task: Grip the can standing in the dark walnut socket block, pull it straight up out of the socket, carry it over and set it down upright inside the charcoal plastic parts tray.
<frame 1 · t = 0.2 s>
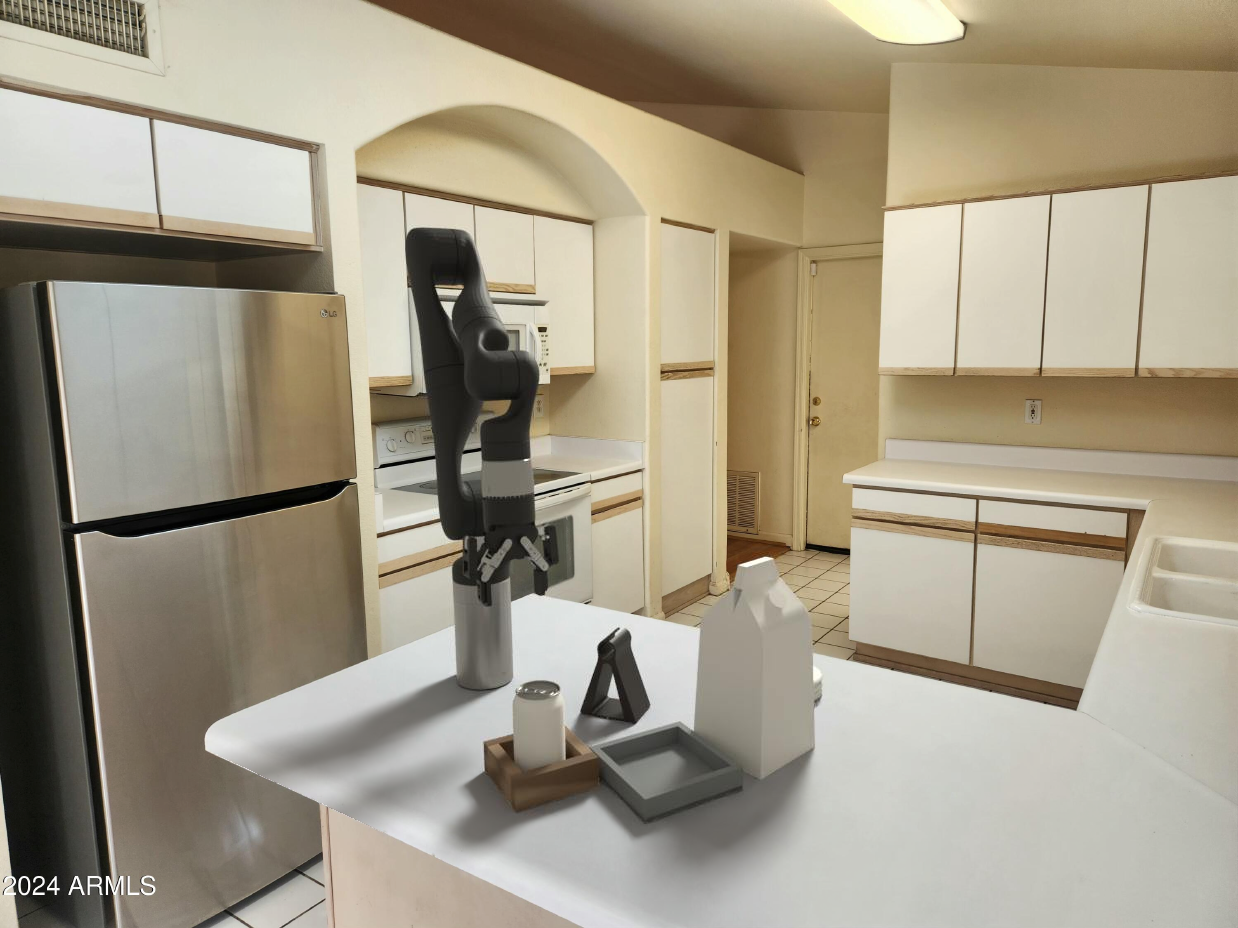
hand: (513, 599, 118), 18 cm above the countertop, tool pointing down, fingers open, 8 cm apart
milk: (753, 748, 110), on the countertop
parts tray: (664, 778, 102), on the countertop
can: (540, 779, 102), resting in socket block
socket block: (540, 778, 102), on the countertop
coaster: (789, 693, 127), on the countertop
phone stand: (615, 711, 121), on the countertop
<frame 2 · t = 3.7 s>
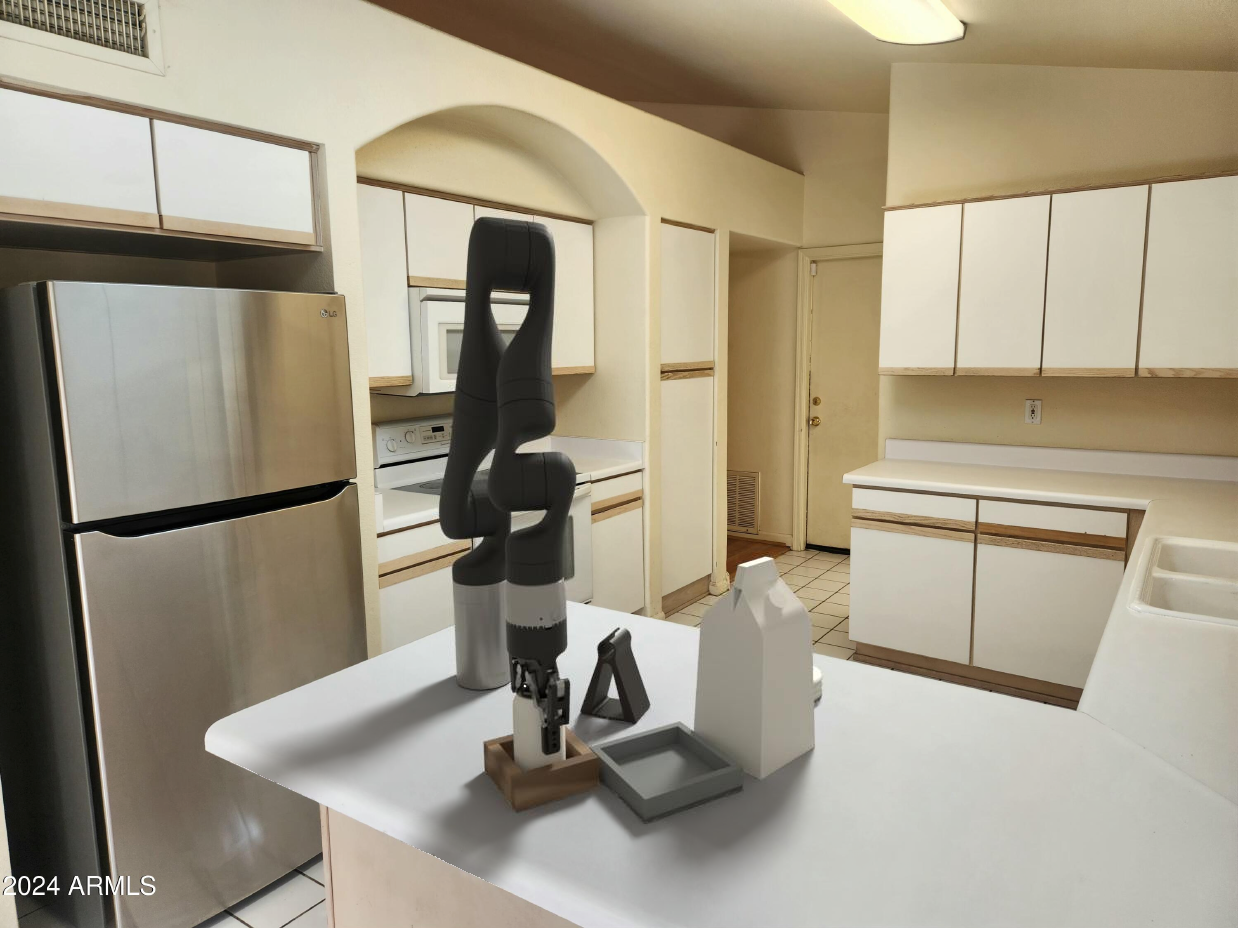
hand: (539, 740, 101), 5 cm above the countertop, tool pointing down, fingers closed on can, 6 cm apart
can: (540, 779, 102), resting in socket block, touching gripper
everything else where it was.
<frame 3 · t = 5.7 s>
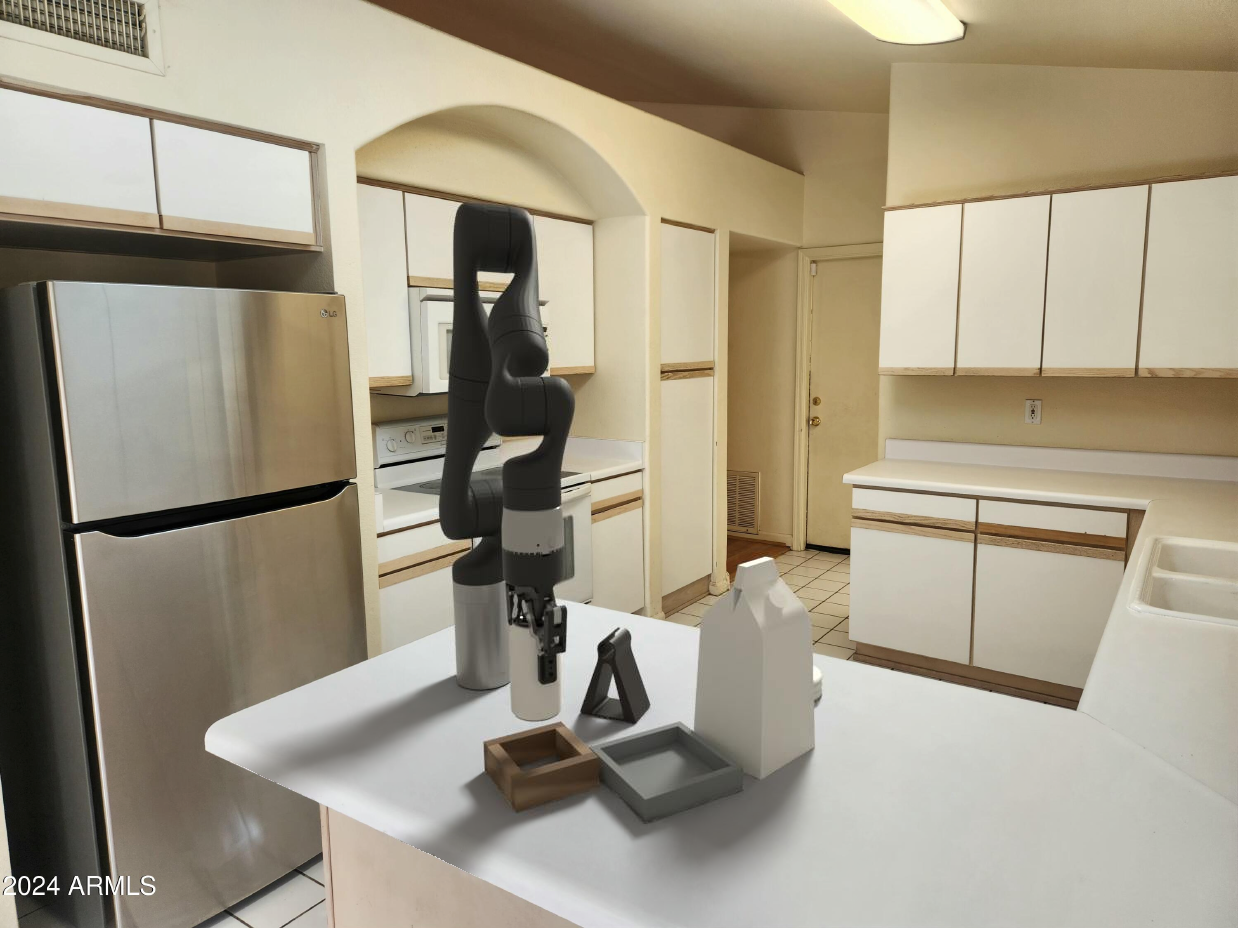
hand: (536, 671, 100), 14 cm above the countertop, tool pointing down, fingers closed on can, 6 cm apart
can: (537, 712, 101), point 9 cm above the countertop, touching gripper
everything else where it was.
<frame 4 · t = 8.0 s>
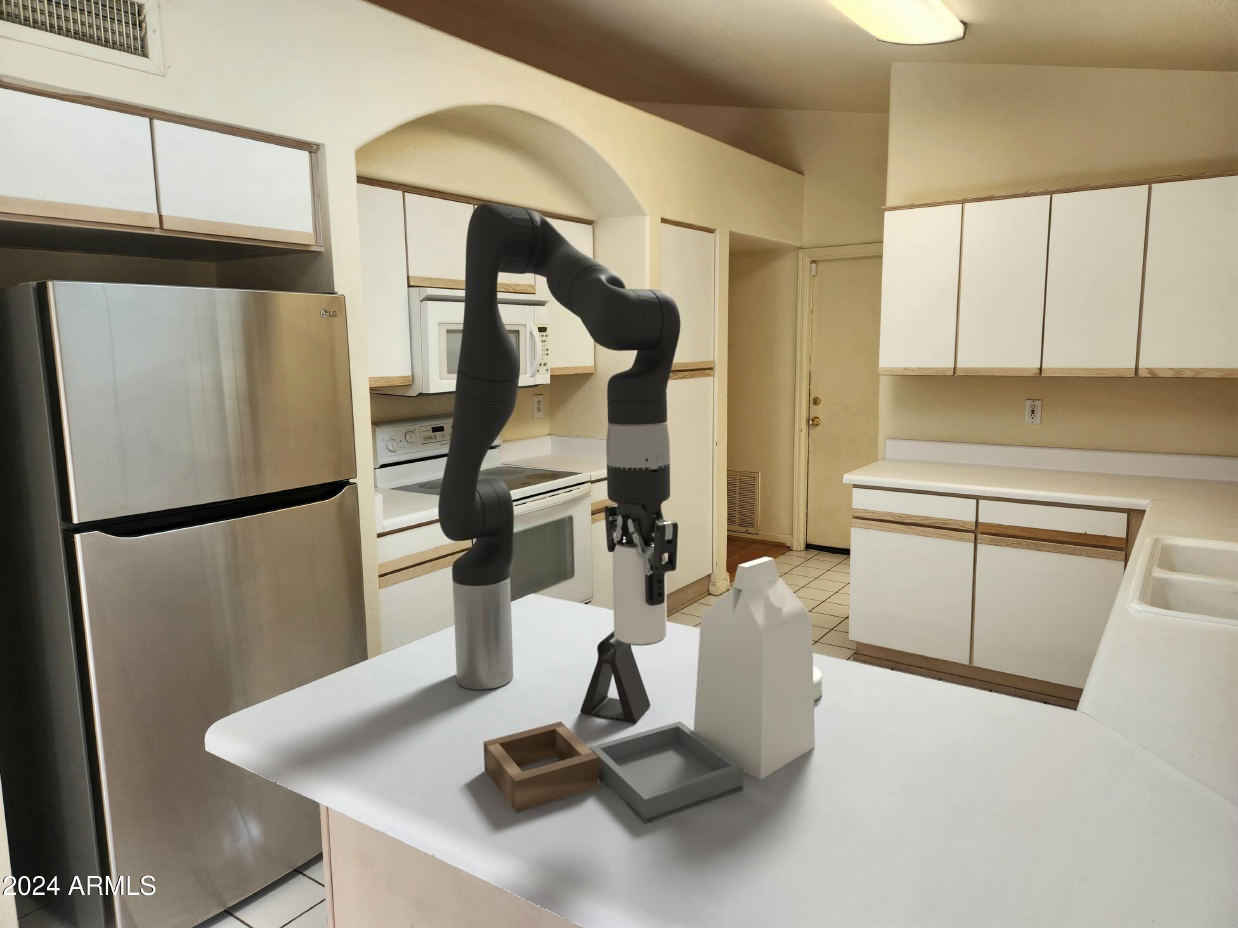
hand: (640, 596, 98), 24 cm above the countertop, tool pointing down, fingers closed on can, 6 cm apart
can: (640, 638, 99), point 19 cm above the countertop, touching gripper
everything else where it was.
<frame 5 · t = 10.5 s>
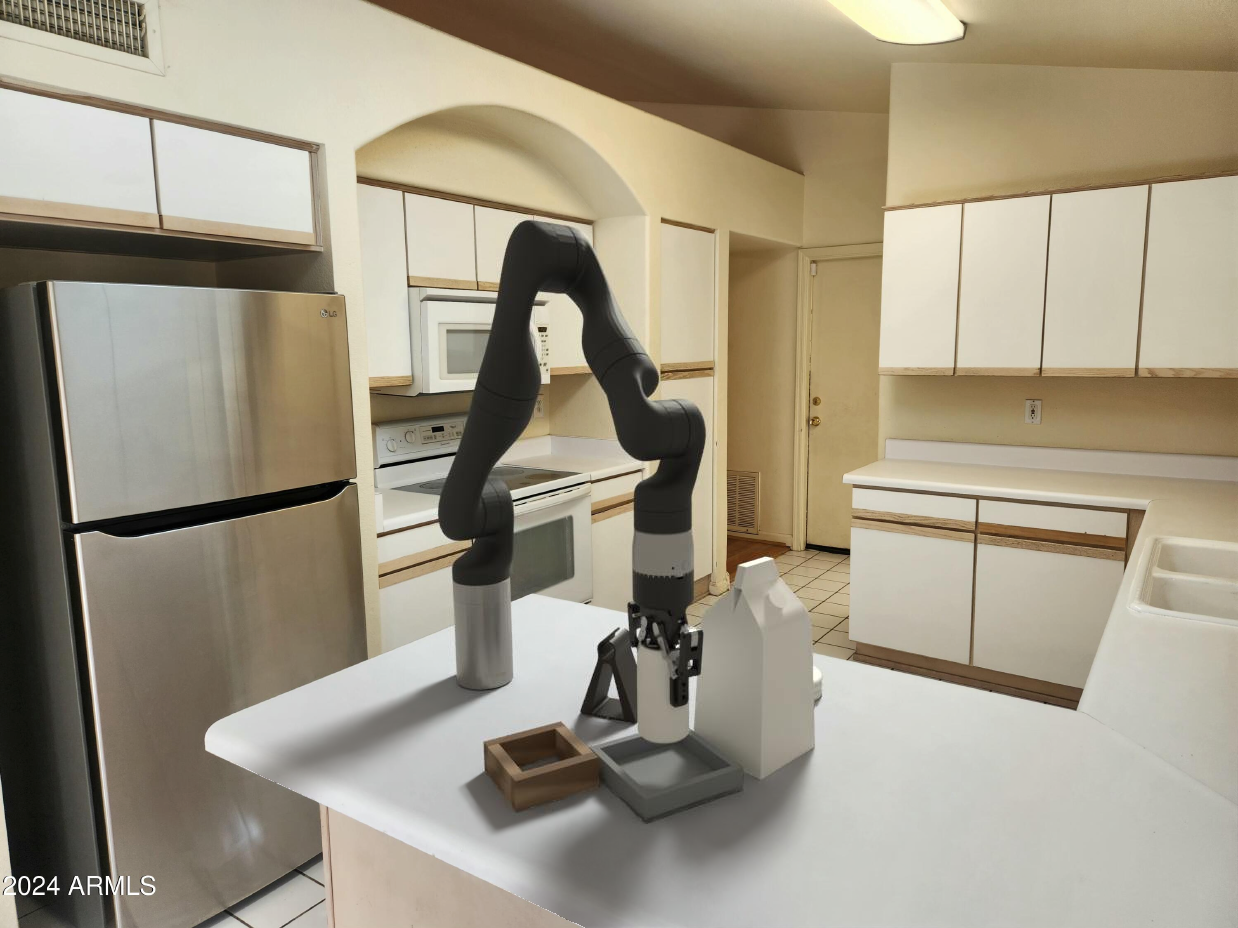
hand: (663, 694, 100), 11 cm above the countertop, tool pointing down, fingers closed on can, 6 cm apart
can: (663, 734, 101), point 6 cm above the countertop, touching gripper
everything else where it was.
when the fingers open (7 cm above the countertop, at t = 12.5 s): can stays where it is, resting on parts tray.
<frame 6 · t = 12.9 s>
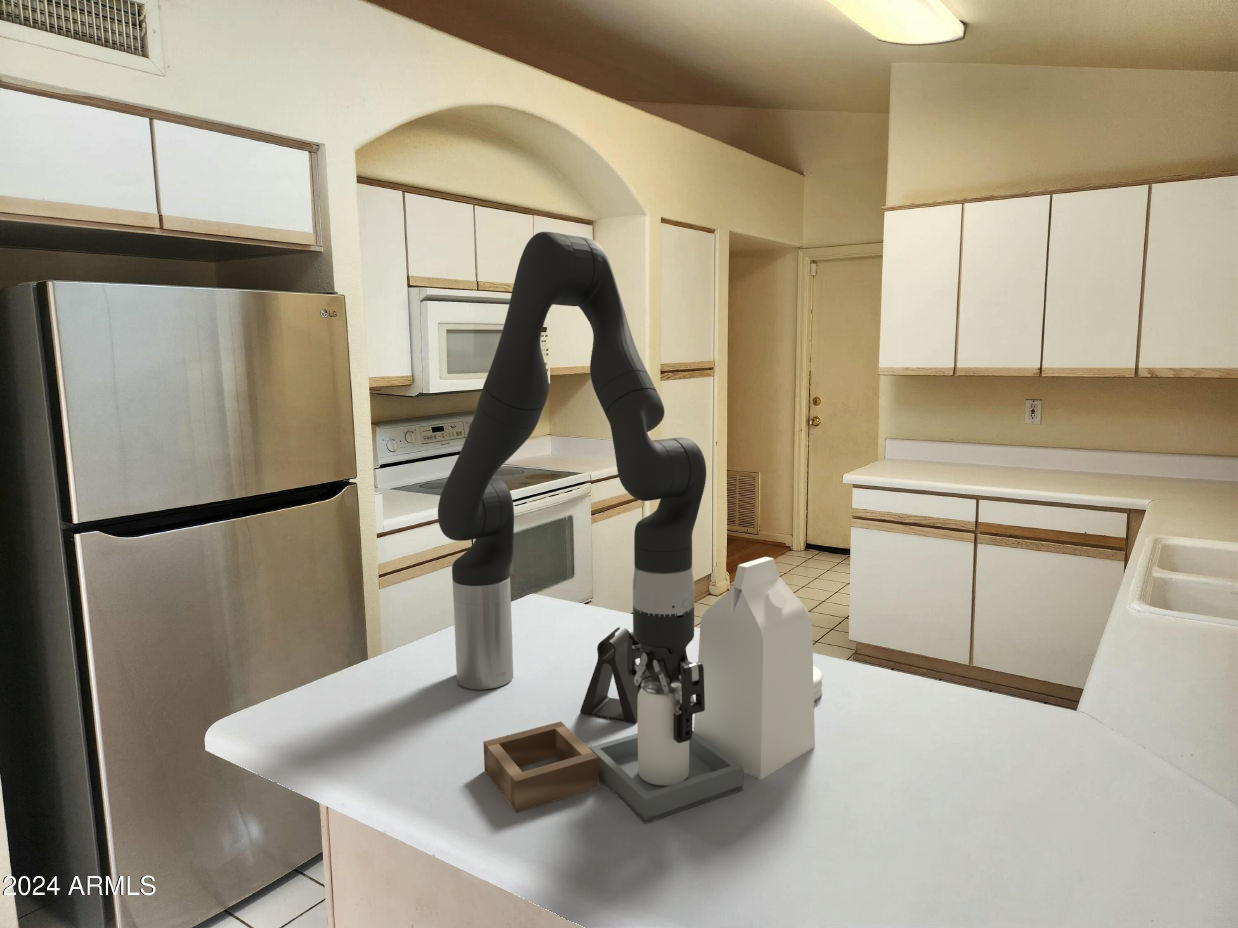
hand: (663, 726, 101), 7 cm above the countertop, tool pointing down, fingers open, 8 cm apart
can: (663, 775, 102), resting on parts tray
everything else where it was.
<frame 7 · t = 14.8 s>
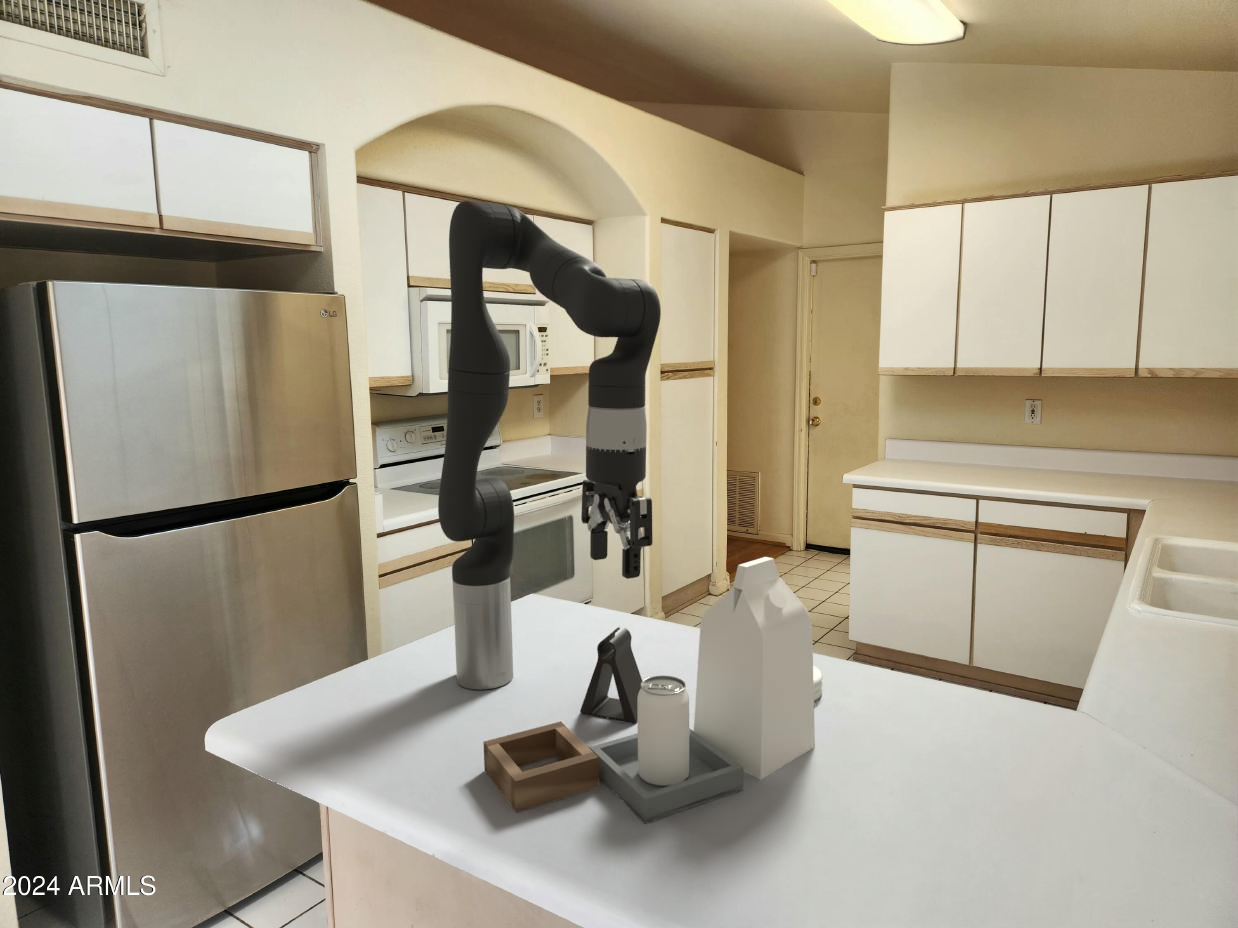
hand: (614, 567, 103), 26 cm above the countertop, tool pointing down, fingers open, 8 cm apart
nothing on the countertop moved.
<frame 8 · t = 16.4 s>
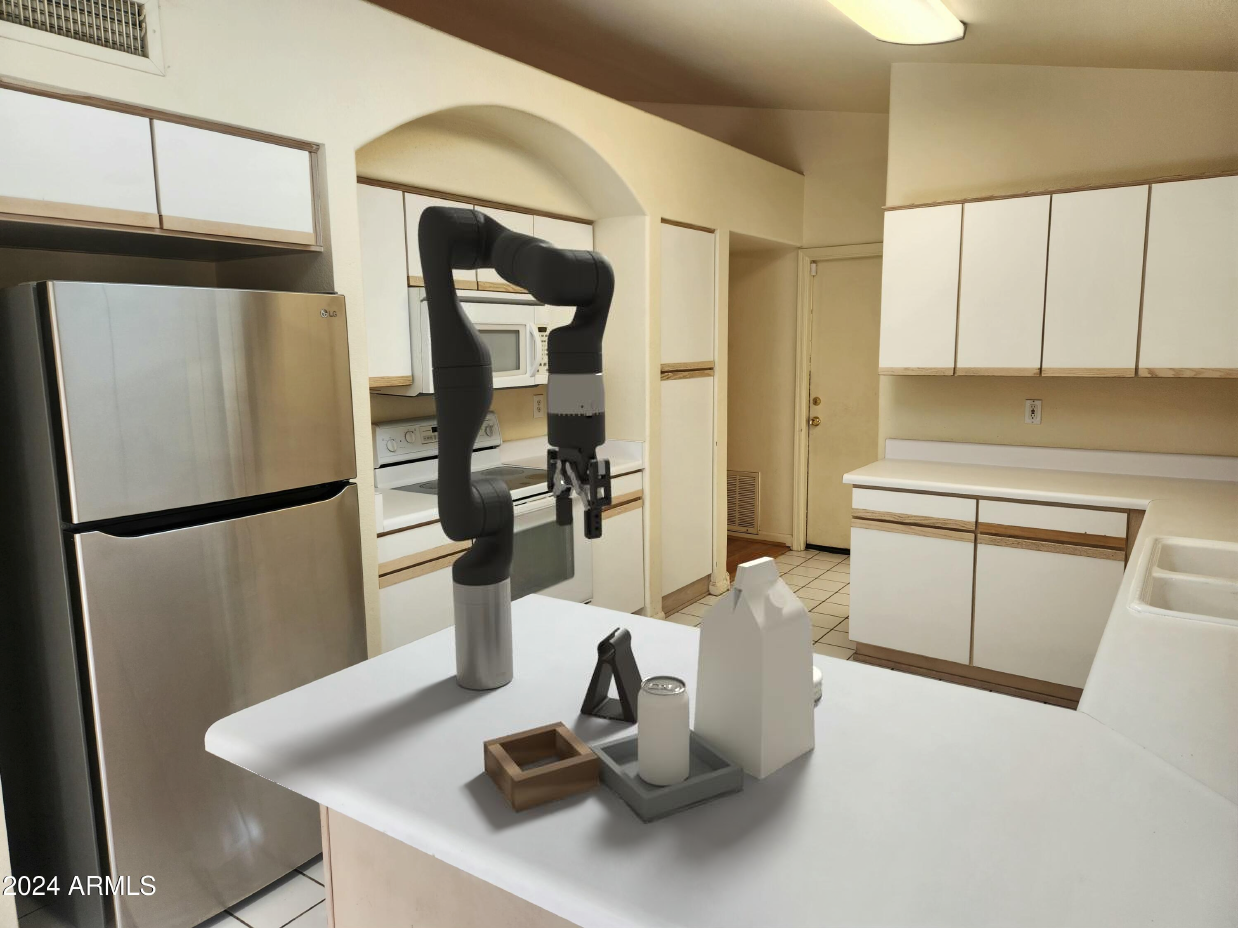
hand: (578, 531, 106), 30 cm above the countertop, tool pointing down, fingers open, 8 cm apart
nothing on the countertop moved.
at the end: can inside the target area on the parts tray (0.1 cm from its centre), point 0.4 cm above the parts tray's base; can tilted 0°; the gripper is holding nothing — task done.
